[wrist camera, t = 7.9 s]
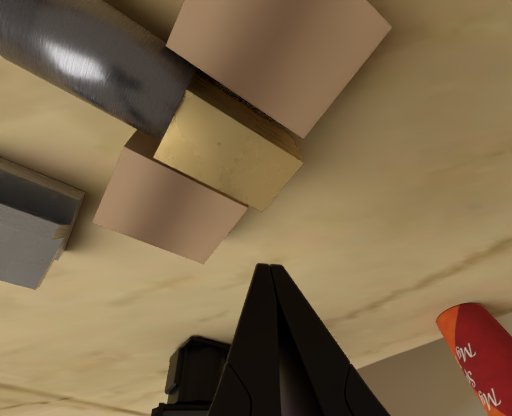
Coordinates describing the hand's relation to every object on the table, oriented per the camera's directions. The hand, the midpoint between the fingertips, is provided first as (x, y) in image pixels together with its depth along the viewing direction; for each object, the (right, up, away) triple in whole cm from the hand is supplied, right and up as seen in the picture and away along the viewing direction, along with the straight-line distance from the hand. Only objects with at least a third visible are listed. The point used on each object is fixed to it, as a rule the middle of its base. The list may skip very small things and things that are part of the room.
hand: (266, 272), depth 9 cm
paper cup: (+25, -11, +25) cm, 37 cm away
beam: (-3, +7, +8) cm, 12 cm away
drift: (-2, +7, +9) cm, 12 cm away
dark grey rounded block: (-8, +10, +6) cm, 14 cm away
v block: (-17, +2, +11) cm, 21 cm away
